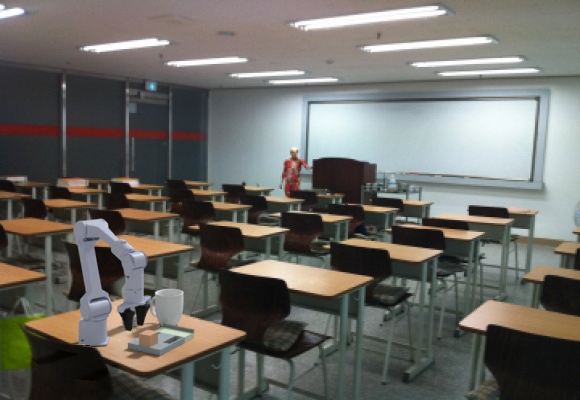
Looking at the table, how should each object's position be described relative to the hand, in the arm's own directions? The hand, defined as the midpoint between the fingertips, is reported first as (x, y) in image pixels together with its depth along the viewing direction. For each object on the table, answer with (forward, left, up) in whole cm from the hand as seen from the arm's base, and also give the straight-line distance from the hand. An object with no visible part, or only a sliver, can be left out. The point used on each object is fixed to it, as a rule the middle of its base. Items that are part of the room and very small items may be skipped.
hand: (134, 327), depth 179 cm
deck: (+9, +12, -10) cm, 18 cm away
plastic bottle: (-4, +32, -10) cm, 34 cm away
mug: (+10, +33, -10) cm, 36 cm away
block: (+4, +6, -8) cm, 11 cm away
